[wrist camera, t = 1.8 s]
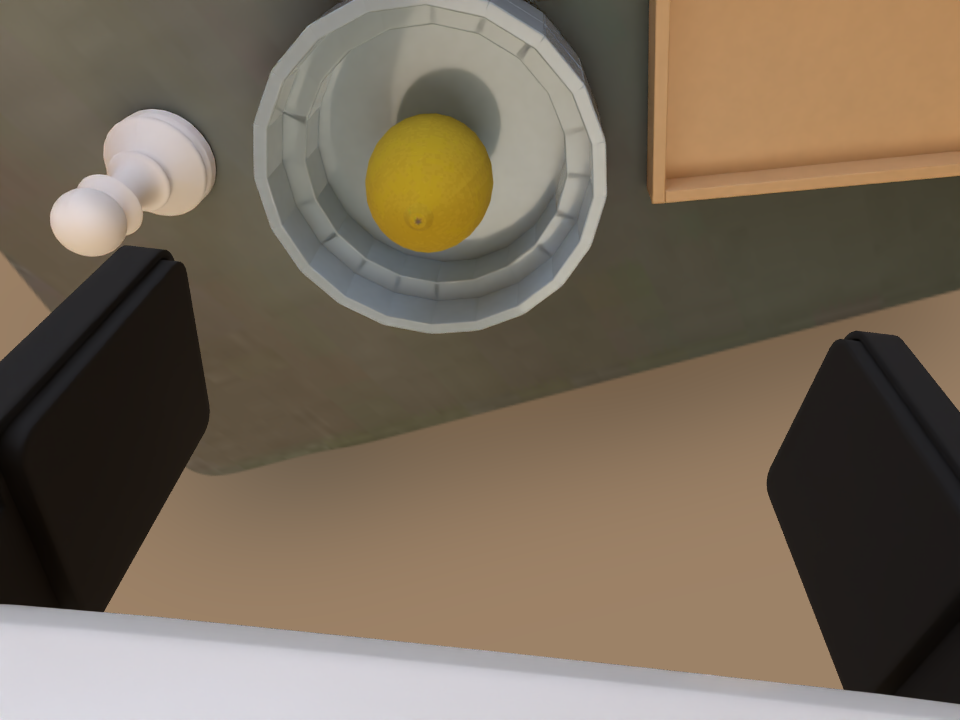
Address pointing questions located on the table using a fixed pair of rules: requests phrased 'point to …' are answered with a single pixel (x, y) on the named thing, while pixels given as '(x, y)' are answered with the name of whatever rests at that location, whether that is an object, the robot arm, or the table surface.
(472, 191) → the lemon
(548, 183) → the bowl
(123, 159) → the chess pawn
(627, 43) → the table surface
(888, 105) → the tray
